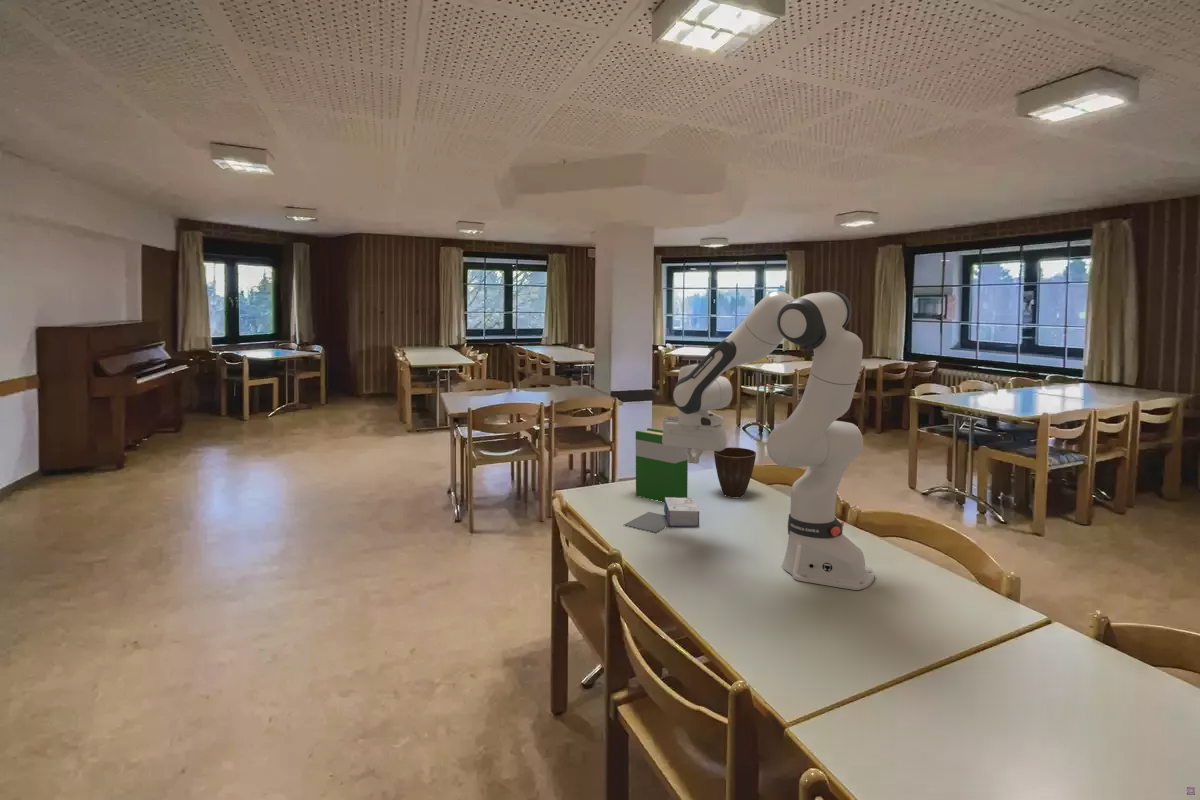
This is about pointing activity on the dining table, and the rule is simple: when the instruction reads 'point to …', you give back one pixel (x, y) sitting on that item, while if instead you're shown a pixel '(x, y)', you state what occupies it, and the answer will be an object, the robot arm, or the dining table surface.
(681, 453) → the hardback book
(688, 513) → the ink cartridge box
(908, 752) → the dining table surface
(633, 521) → the mat
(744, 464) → the plant pot
